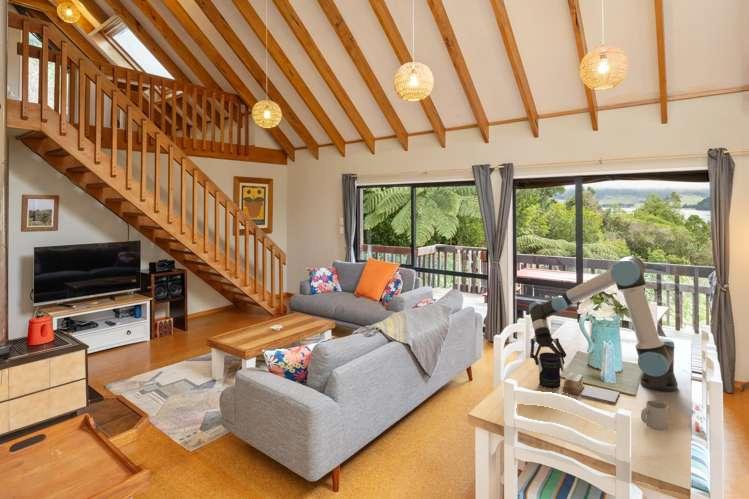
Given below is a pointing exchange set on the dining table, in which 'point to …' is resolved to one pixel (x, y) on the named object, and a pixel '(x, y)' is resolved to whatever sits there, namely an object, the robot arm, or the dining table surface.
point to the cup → (655, 415)
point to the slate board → (600, 394)
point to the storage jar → (550, 370)
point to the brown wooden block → (573, 384)
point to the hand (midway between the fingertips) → (551, 370)
